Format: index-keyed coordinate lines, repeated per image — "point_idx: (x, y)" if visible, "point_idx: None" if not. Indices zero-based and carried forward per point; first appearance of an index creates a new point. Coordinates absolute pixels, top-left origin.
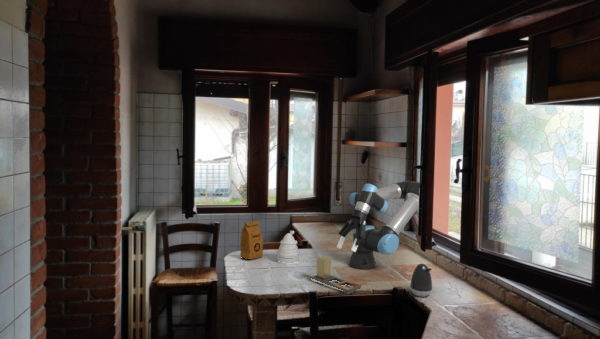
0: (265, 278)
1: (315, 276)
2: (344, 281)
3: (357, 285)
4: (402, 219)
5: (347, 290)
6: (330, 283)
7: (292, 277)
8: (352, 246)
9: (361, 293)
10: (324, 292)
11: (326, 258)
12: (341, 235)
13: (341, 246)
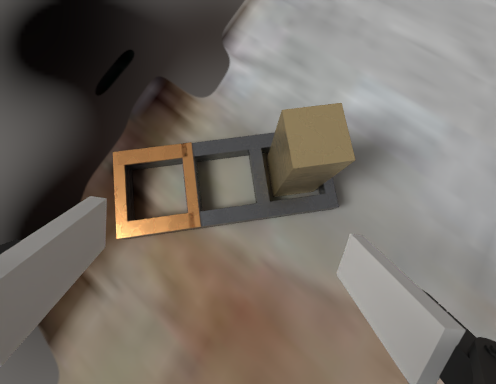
0: (407, 19)
1: None
2: (195, 207)
3: (123, 222)
4: None
5: (114, 153)
6: (211, 144)
7: (378, 99)
8: (76, 212)
9: None
10: (184, 101)
11: (303, 140)
12: (469, 349)
13: (348, 288)
